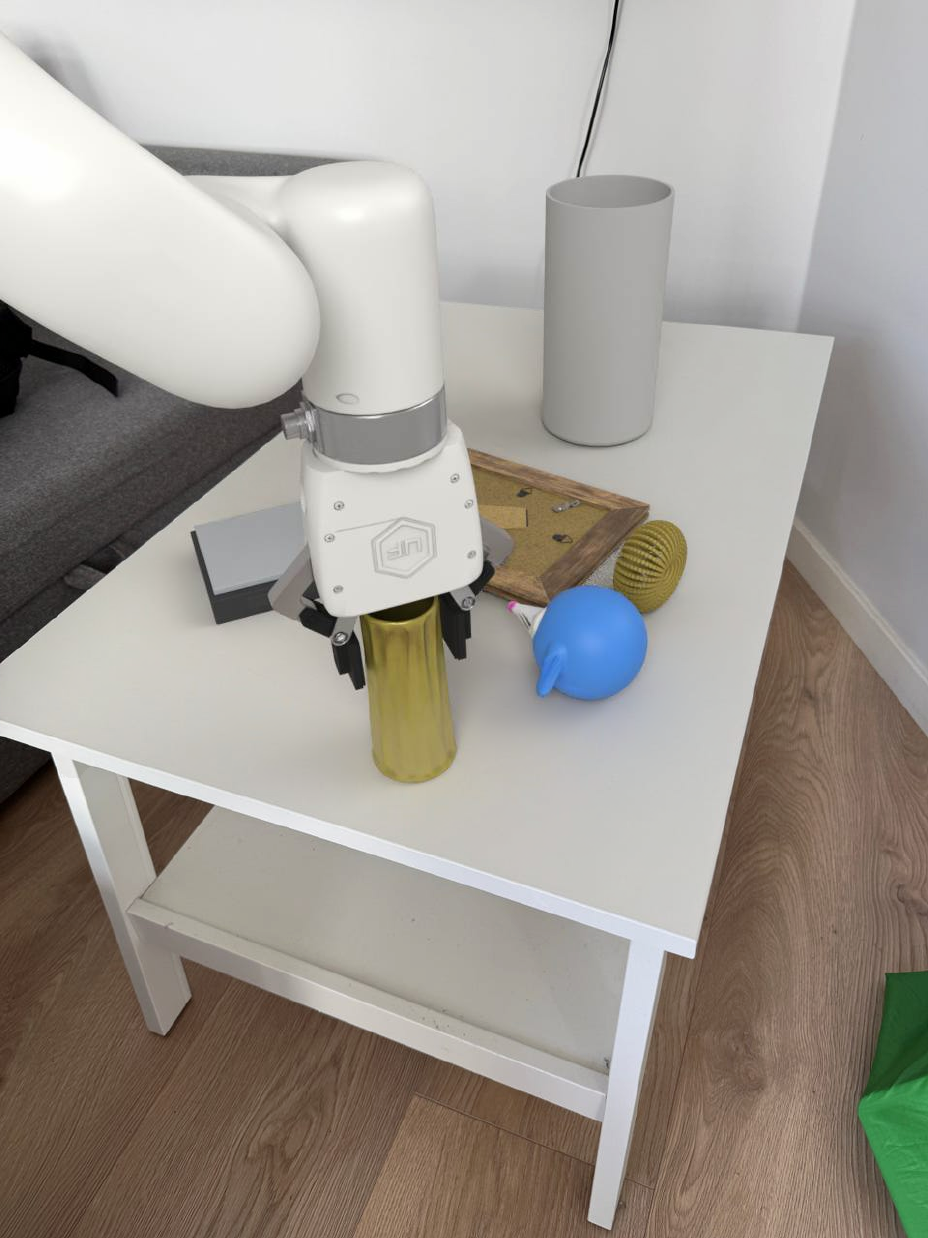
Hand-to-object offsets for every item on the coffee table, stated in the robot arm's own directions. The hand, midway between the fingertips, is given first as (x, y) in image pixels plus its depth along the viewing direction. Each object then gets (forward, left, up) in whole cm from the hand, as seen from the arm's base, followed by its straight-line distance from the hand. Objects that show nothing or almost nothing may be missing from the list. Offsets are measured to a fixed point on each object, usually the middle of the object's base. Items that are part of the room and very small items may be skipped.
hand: (404, 659), depth 61 cm
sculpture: (+24, +8, -9) cm, 27 cm away
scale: (-5, +27, -9) cm, 29 cm away
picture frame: (+17, +25, -9) cm, 32 cm away
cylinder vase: (+36, +40, -9) cm, 55 cm away
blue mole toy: (+14, +3, -9) cm, 17 cm away
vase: (0, 0, -9) cm, 9 cm away
